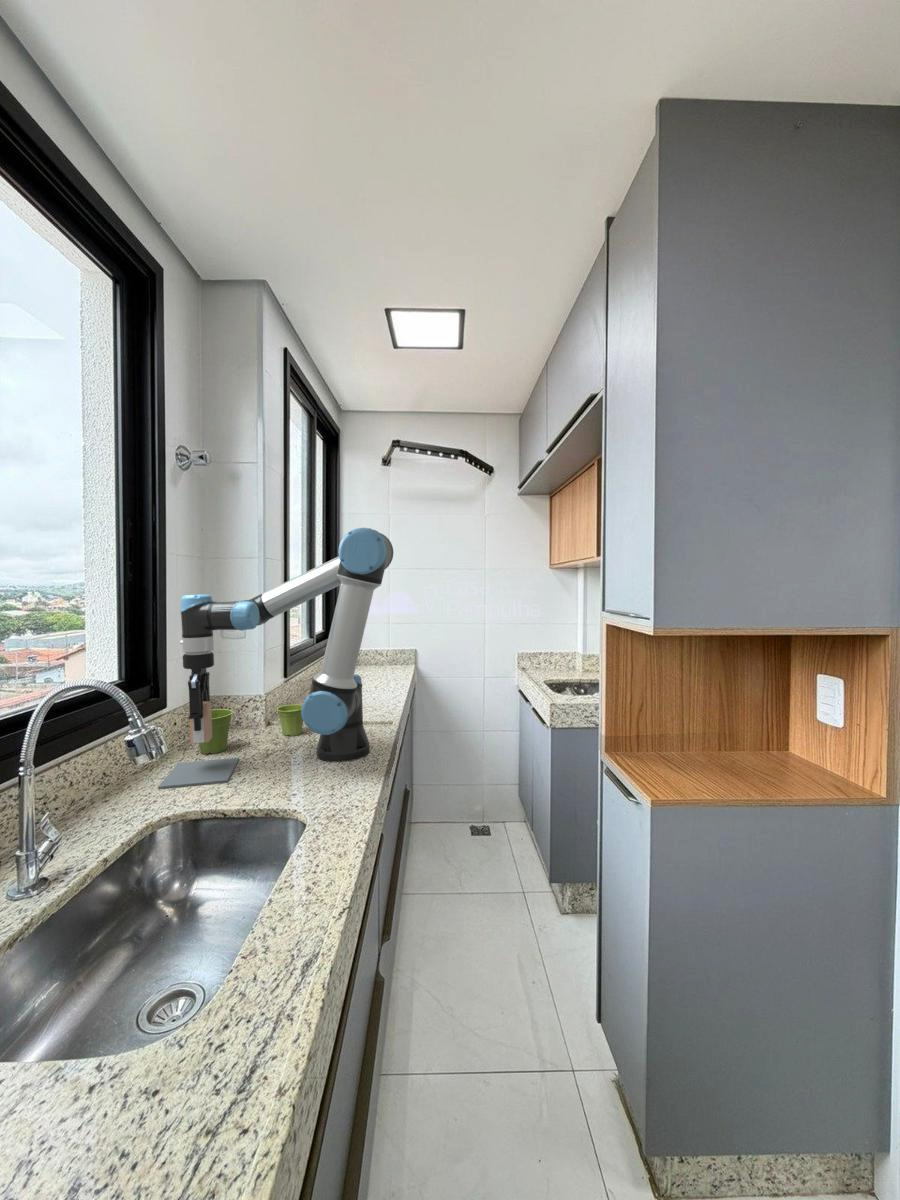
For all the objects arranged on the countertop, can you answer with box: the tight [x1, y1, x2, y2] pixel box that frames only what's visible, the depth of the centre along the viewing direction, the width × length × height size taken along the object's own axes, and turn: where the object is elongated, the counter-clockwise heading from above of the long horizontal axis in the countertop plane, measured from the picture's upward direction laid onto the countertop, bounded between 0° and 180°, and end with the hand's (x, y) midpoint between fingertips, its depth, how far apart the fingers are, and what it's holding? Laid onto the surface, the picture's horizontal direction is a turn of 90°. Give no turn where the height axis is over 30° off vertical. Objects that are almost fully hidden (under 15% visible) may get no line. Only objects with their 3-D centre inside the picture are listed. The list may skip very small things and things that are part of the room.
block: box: [188, 700, 212, 744], centre depth 146 cm, size 4×4×10 cm
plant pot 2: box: [276, 704, 304, 737], centre depth 181 cm, size 9×9×9 cm
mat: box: [157, 757, 240, 790], centre depth 145 cm, size 16×18×1 cm
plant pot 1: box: [198, 708, 234, 755], centre depth 164 cm, size 12×12×11 cm
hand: (201, 739), depth 147 cm, fingers closed on block, 4 cm apart
